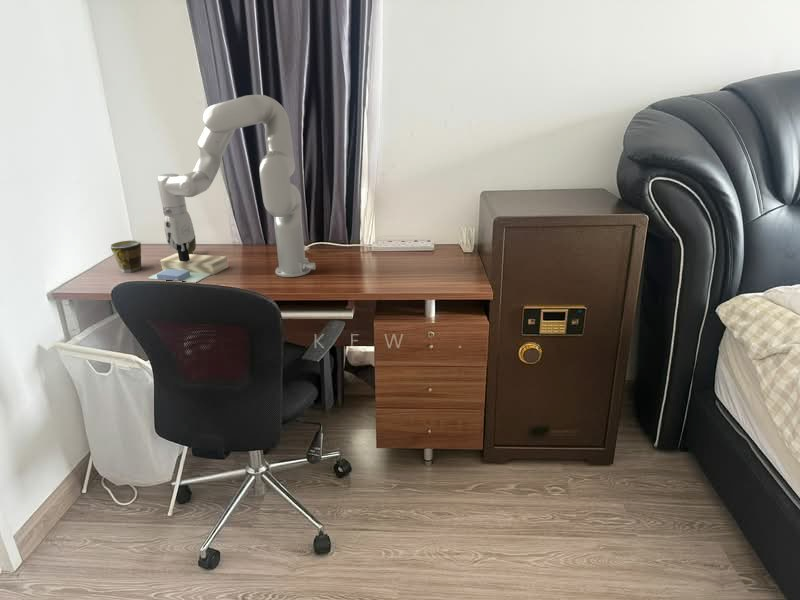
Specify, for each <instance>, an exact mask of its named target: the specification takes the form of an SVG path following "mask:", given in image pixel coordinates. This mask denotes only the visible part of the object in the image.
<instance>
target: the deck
mask: <svg viewBox="0 0 800 600" xmlns="http://www.w3.org/2000/svg"><path fill="white" fill-rule="evenodd" d="M189 258H190V260H189V261H187V262H183V261H180V260H179V255H178V252H176V253H173V254H171V255H169V256H167V257H164V258H162V259H160V266H161V271H163V270H167V269H175V270H187V271H190V272H196V273H208V274H211V275H213V276H214V275H216V274H218V273H220V272H221V271H223V270H225V269H227V268H228V267H229V266H228V259H227V256H222V255H221V256H220V255H209V254H195V253H193V254H189ZM211 275H210V276H211Z"/></svg>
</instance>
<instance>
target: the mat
mask: <svg viewBox="0 0 800 600" xmlns="http://www.w3.org/2000/svg"><path fill="white" fill-rule="evenodd" d="M163 271H165V270H163ZM163 271H162V270H161V271H159V272H157V273H155V274H153V275H150V276H149V277H147V278H146V279H147V280H158V279H157V274H158V273H161V272H163ZM210 276H211V274H208V273H196V272H190V277H188V278H186V279H184V280H182V281H186V282H185V283H189V282H197V283H198V282H200V281H202V280H204V279H206V278H208V277H210ZM158 281H159V280H158Z"/></svg>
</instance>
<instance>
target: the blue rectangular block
mask: <svg viewBox="0 0 800 600" xmlns="http://www.w3.org/2000/svg"><path fill="white" fill-rule="evenodd" d="M160 272H161V271H160ZM157 273H158V274H157ZM157 273H156V274H157V279H158V281H166V280H173V281H172V282H177V281H182V280H184V279H186V278H188V277H190V271H187V270H175V269H167V270H165V271H163V272H161V273H159V272H157ZM164 278H165V279H164ZM175 279H177V280H175Z"/></svg>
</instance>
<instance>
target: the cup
mask: <svg viewBox="0 0 800 600" xmlns="http://www.w3.org/2000/svg"><path fill="white" fill-rule="evenodd" d="M196 243H197V242H196V237H195V238H194V239H193V240H192V241H191V242H190V243H189V249H187V250H188V253H189V254H194V252H195V251H196V248H197V247H196V246H197V244H196Z"/></svg>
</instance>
